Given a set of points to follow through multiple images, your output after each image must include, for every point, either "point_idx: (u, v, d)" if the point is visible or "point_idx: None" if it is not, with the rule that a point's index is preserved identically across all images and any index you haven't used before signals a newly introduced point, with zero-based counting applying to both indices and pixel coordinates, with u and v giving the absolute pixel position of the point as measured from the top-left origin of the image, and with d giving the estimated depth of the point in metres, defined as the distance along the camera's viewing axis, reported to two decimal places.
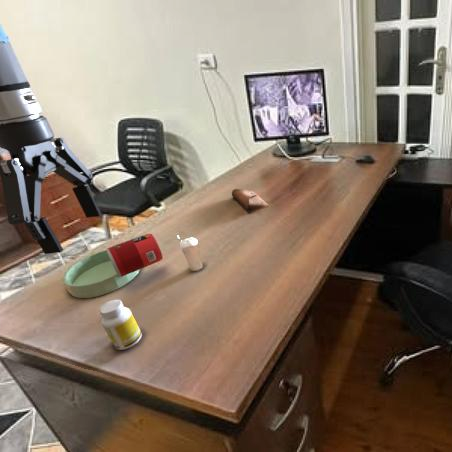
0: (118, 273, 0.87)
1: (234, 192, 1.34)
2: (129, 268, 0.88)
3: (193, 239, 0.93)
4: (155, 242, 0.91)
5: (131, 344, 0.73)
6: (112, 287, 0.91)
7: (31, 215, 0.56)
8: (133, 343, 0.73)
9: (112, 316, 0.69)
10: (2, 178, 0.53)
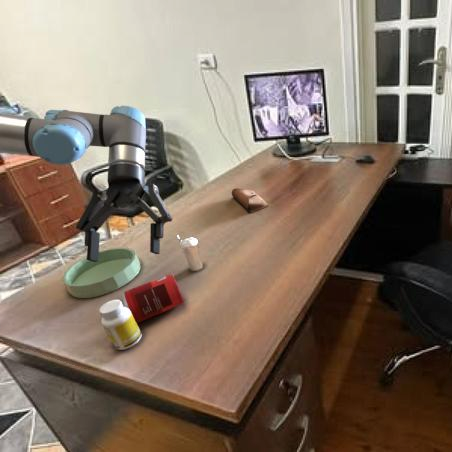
0: (122, 294, 0.77)
1: (234, 191, 1.34)
2: (135, 288, 0.78)
3: (193, 239, 0.93)
4: None
5: (131, 344, 0.73)
6: (112, 287, 0.91)
7: None
8: (133, 343, 0.73)
9: (112, 316, 0.69)
10: (155, 192, 0.80)
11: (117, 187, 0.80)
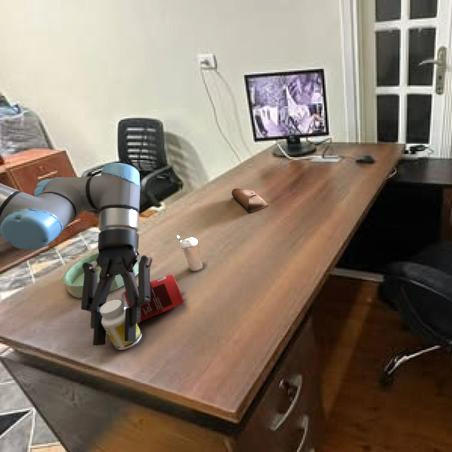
0: (122, 294, 0.77)
1: (234, 191, 1.34)
2: None
3: (193, 239, 0.93)
4: None
5: (131, 344, 0.73)
6: (112, 287, 0.91)
7: None
8: (133, 343, 0.73)
9: (112, 316, 0.69)
10: (144, 268, 0.73)
11: (108, 254, 0.74)
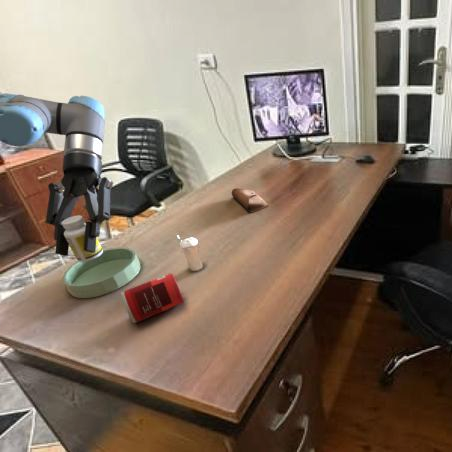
0: (122, 293, 0.77)
1: (234, 191, 1.34)
2: (135, 287, 0.78)
3: (193, 239, 0.93)
4: None
5: (92, 257, 0.80)
6: (112, 287, 0.91)
7: None
8: (94, 257, 0.81)
9: (73, 227, 0.77)
10: (104, 188, 0.81)
11: (72, 176, 0.81)
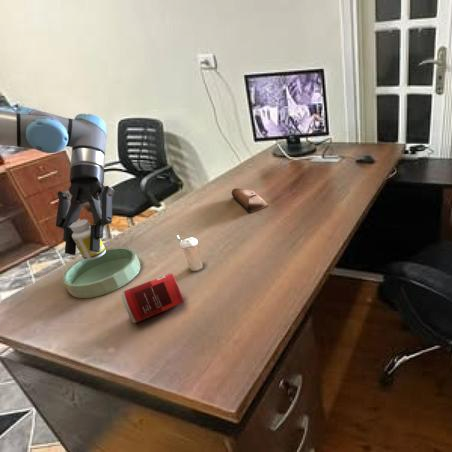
0: (122, 293, 0.77)
1: (234, 191, 1.34)
2: (135, 287, 0.78)
3: (193, 239, 0.93)
4: None
5: (96, 256, 0.92)
6: (112, 287, 0.91)
7: None
8: (98, 255, 0.92)
9: (80, 230, 0.88)
10: (107, 195, 0.92)
11: (78, 185, 0.92)
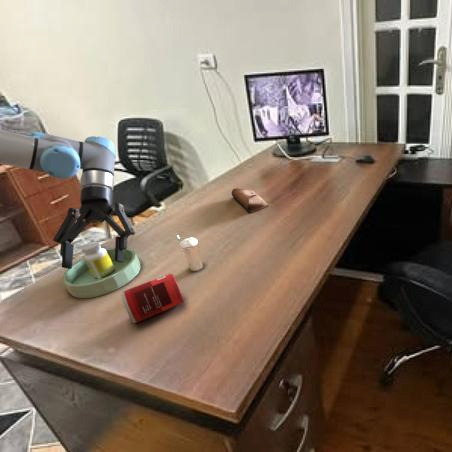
0: (122, 293, 0.77)
1: (234, 191, 1.34)
2: (135, 287, 0.78)
3: (193, 239, 0.93)
4: None
5: (107, 276, 0.95)
6: (112, 287, 0.91)
7: None
8: (108, 276, 0.95)
9: (91, 252, 0.91)
10: (120, 210, 0.95)
11: (88, 206, 0.96)
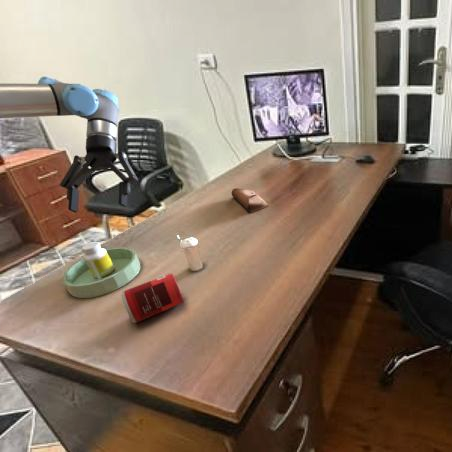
0: (122, 293, 0.77)
1: (234, 191, 1.34)
2: (135, 287, 0.78)
3: (193, 239, 0.93)
4: None
5: (107, 276, 0.95)
6: (112, 287, 0.91)
7: None
8: (108, 276, 0.95)
9: (91, 252, 0.91)
10: (123, 158, 1.00)
11: (93, 154, 1.00)
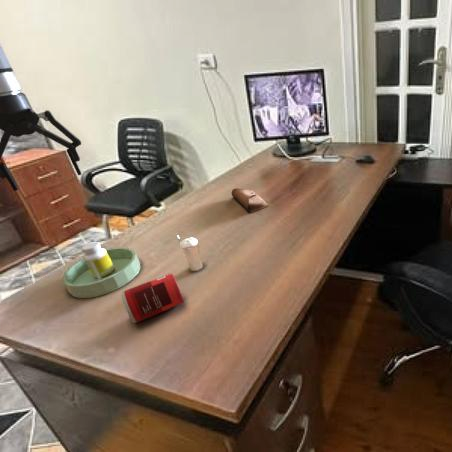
0: (122, 293, 0.77)
1: (234, 191, 1.34)
2: (135, 287, 0.78)
3: (193, 239, 0.93)
4: None
5: (107, 276, 0.95)
6: (112, 287, 0.91)
7: (71, 143, 0.90)
8: (108, 276, 0.95)
9: (91, 252, 0.91)
10: (56, 120, 0.86)
11: (7, 118, 0.80)
